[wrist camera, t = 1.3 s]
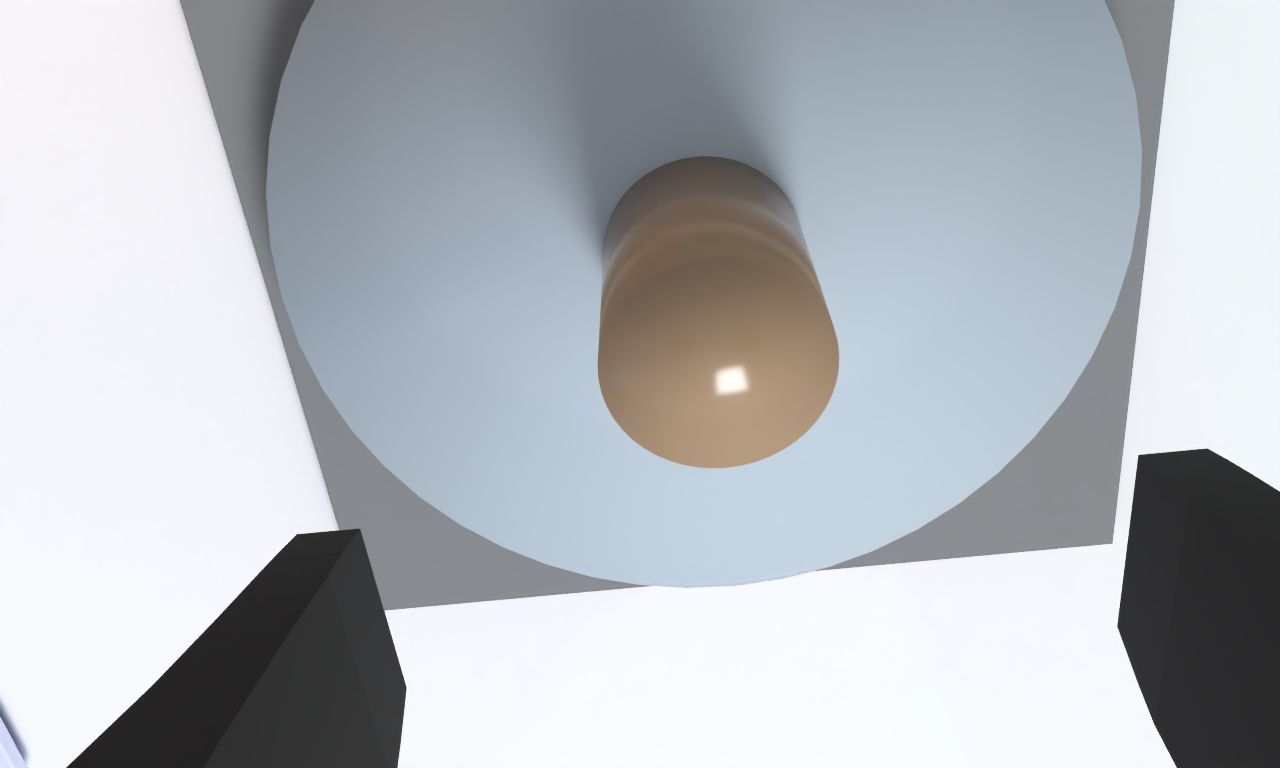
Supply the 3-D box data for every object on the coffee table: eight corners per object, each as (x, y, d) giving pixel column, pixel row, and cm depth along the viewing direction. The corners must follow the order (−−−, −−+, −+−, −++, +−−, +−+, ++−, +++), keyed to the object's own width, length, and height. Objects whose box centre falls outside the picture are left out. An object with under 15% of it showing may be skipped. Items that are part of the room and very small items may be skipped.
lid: (384, 589, 22) (332, 775, 18) (166, -172, 15) (13, -134, 12) (1087, 524, 21) (1188, 702, 17) (1167, -300, 15) (1354, -304, 11)
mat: (368, 598, 22) (363, 611, 22) (127, -212, 15) (116, -210, 15) (1104, 530, 22) (1112, 543, 21) (1201, -350, 15) (1214, -351, 14)
